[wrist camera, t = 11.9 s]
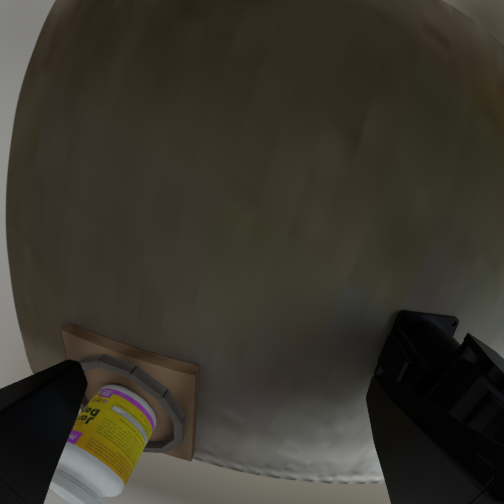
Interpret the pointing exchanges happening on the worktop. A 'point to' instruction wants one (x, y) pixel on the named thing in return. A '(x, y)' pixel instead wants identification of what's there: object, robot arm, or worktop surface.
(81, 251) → the worktop surface
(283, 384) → the worktop surface
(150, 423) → the supplement bottle
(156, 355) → the locating board
